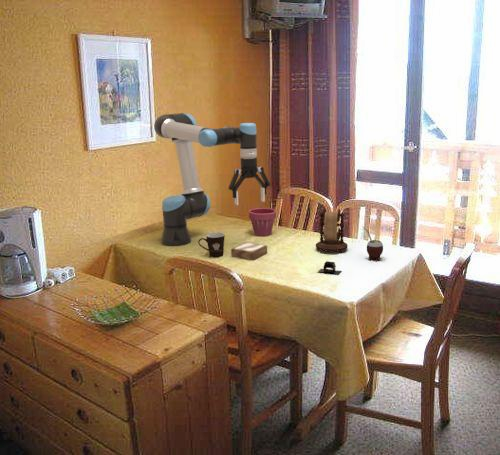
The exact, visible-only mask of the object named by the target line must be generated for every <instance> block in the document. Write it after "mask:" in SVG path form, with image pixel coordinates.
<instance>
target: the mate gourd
mask: <svg viewBox="0 0 500 455" xmlns="http://www.w3.org/2000/svg"><path fill="white" fill-rule="evenodd" d="M362 228H363V229H364V230H366V232H367V234H368V238H369V241H368V242H367V244H366V252H367V254H368V257H369V258H368V261H374V260H375V261H378V262H380V261H381V256H382V254H383V252H384V245H383V243H382V241H381V240H376V239H372V237H371V234H370V231H369V229H368V228H366V227H365V226H362Z"/></svg>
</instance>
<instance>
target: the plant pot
mask: <svg viewBox="0 0 500 455" xmlns="http://www.w3.org/2000/svg"><path fill="white" fill-rule="evenodd" d="M276 217H277V211H276V209H273V208H268V207H260V208H252V209H249V210H248V219H250V222H251V225H252V230H253V234H254V236H258V237H267V236H271V235H272V231H273V228H274V222H275V219H276Z"/></svg>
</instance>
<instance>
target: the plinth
mask: <svg viewBox="0 0 500 455" xmlns="http://www.w3.org/2000/svg"><path fill="white" fill-rule="evenodd" d="M230 251H231V258H236V259H243V260H248V261H252V260H253V261H256V260H257V259H260V258H261V257H263V256H265V255H267V254H268V245H265V244H257V243H252V242H243V243H241V244H239V245H237V246H235V247H232V248H231V249H230ZM253 261H252V262H253Z"/></svg>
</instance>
